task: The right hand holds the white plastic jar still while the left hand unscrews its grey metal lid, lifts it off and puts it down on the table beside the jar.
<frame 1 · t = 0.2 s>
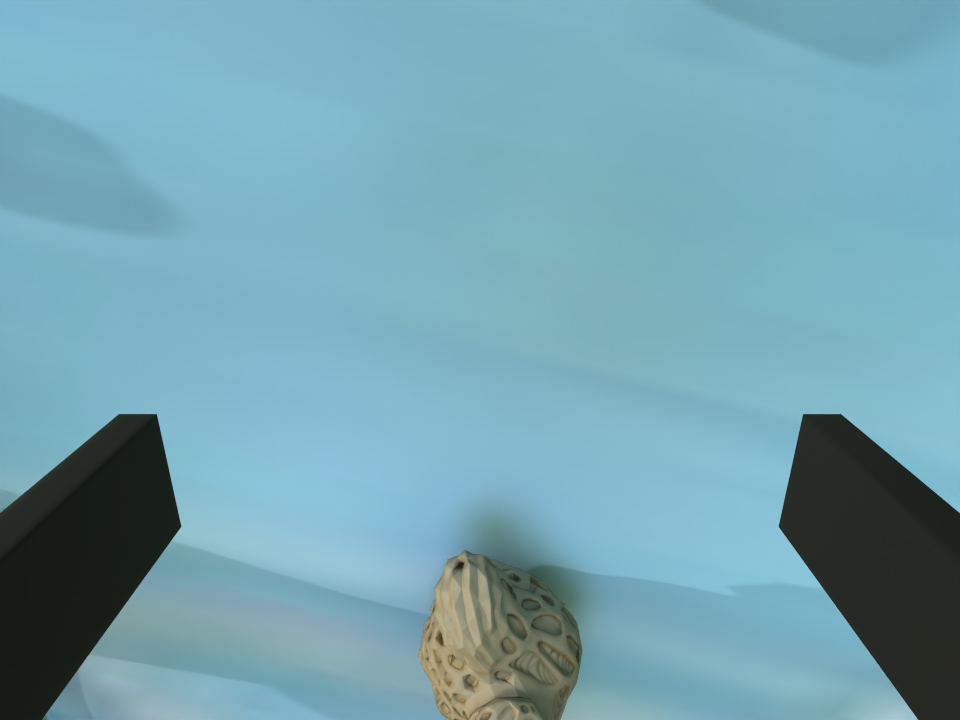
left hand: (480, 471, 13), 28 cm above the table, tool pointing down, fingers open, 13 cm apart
beige textured lump: (500, 601, 50), on the table
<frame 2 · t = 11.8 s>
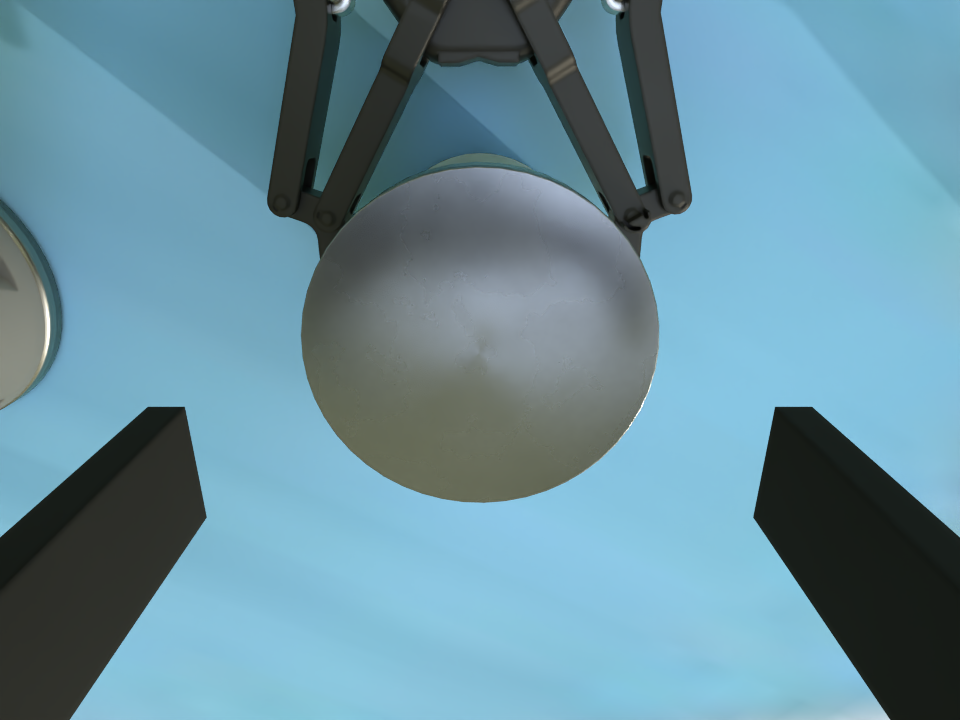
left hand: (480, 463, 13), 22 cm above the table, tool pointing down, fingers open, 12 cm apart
lid: (480, 348, 19), point 15 cm above the table, screwed on, not yet turned
jar: (480, 249, 34), on the table, touching right hand
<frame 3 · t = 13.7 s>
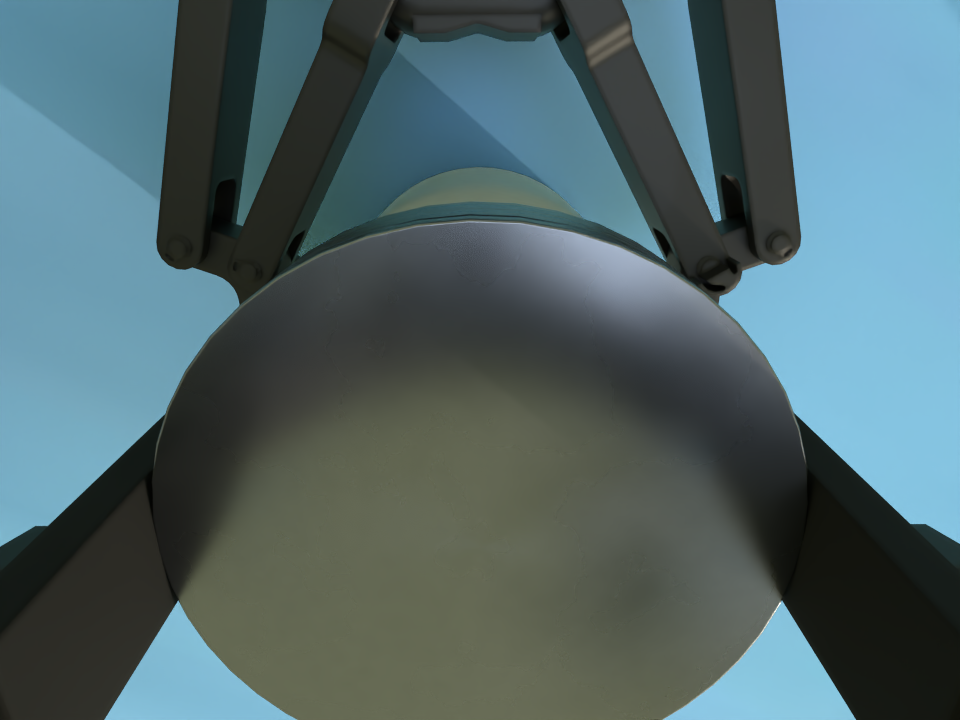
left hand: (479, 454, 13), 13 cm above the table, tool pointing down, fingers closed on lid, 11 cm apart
lid: (480, 533, 11), point 15 cm above the table, screwed on, not yet turned, touching left hand
jar: (479, 295, 25), on the table, touching right hand
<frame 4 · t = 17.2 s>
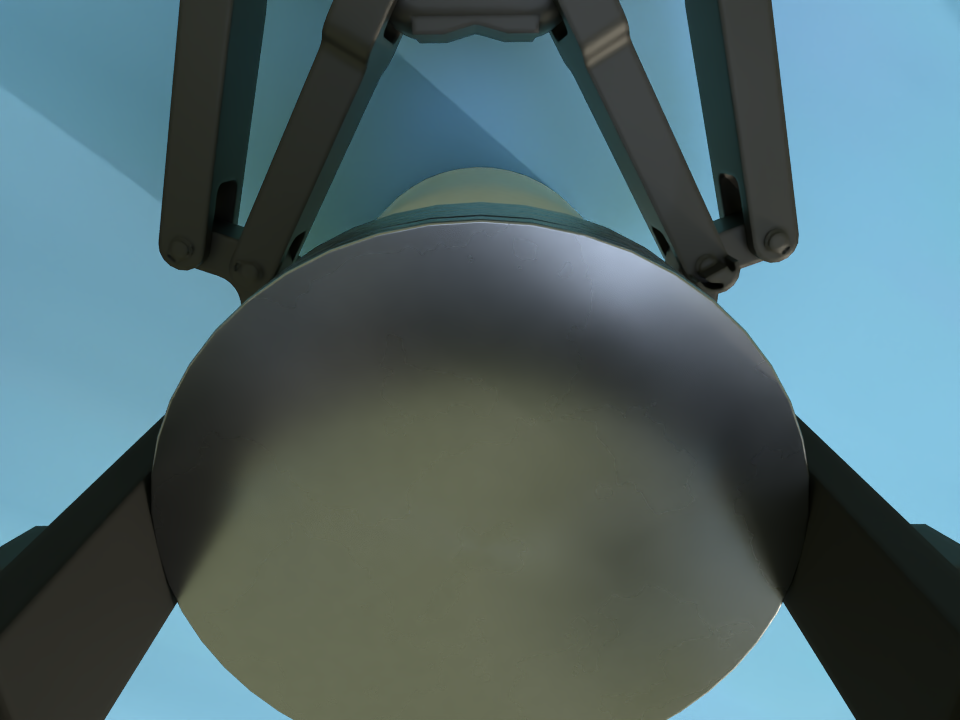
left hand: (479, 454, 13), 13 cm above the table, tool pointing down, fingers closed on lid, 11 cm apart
lid: (480, 535, 11), point 15 cm above the table, turned 126° so far, risen 0.2 cm, still on its thread, touching left hand
jar: (479, 294, 25), on the table, touching right hand
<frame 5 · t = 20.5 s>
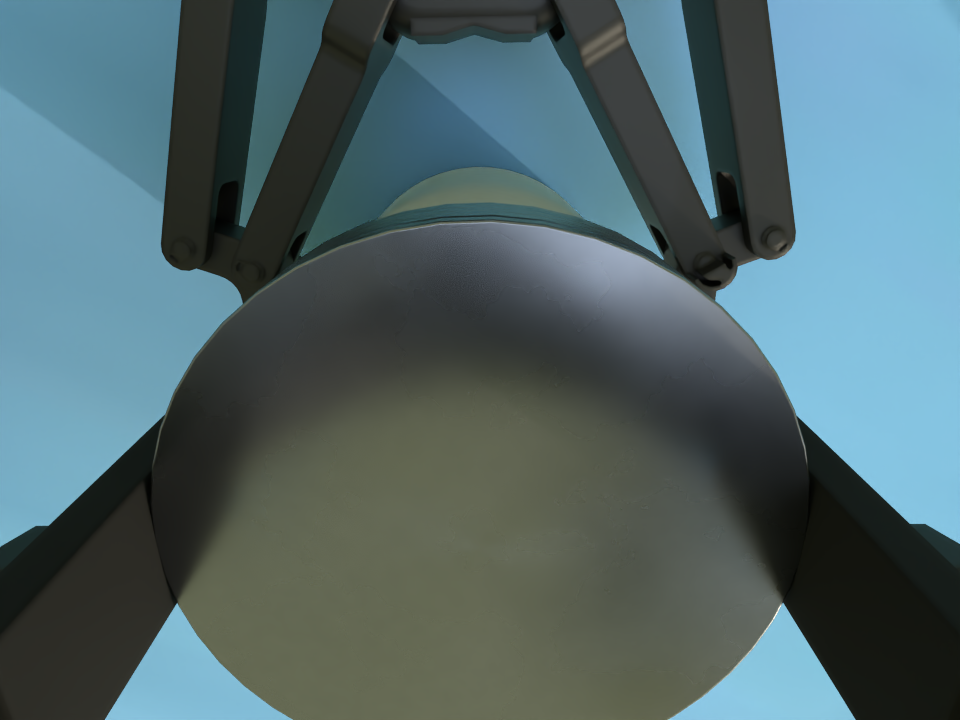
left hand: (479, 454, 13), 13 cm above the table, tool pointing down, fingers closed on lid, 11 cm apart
lid: (480, 535, 11), point 16 cm above the table, turned 251° so far, risen 0.3 cm, still on its thread, touching left hand
jar: (480, 293, 25), on the table, touching right hand
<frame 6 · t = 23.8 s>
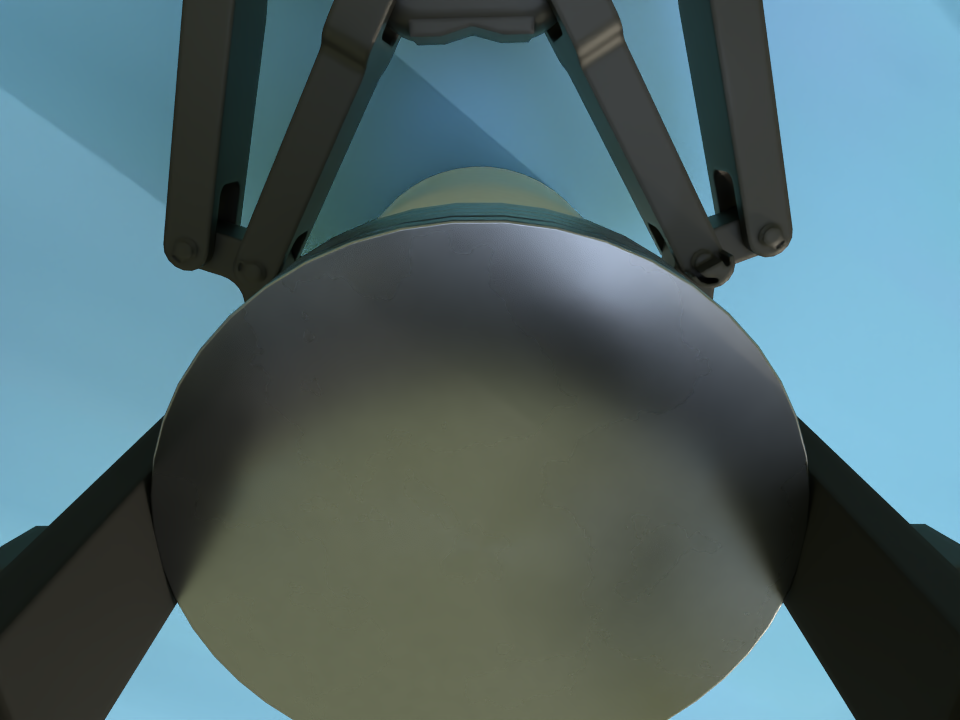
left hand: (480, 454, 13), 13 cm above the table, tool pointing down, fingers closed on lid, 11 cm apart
lid: (480, 535, 11), point 16 cm above the table, turned 377° so far, risen 0.5 cm, still on its thread, touching left hand
jar: (480, 292, 26), on the table, touching right hand
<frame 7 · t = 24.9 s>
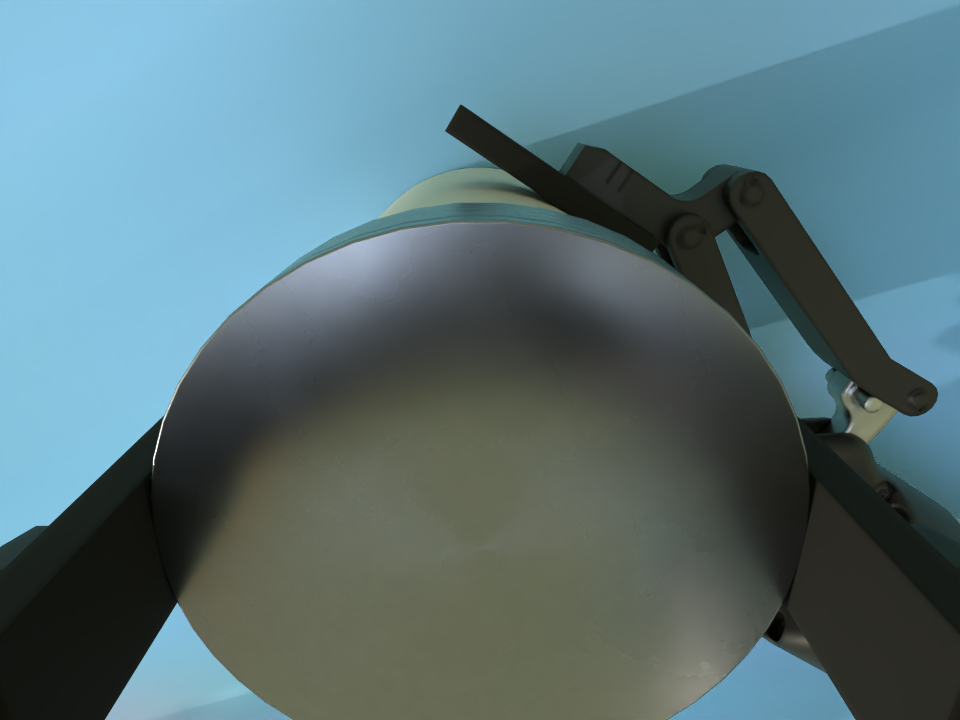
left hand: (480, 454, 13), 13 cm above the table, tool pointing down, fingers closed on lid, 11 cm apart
lid: (480, 535, 11), point 16 cm above the table, off its thread, touching left hand
jar: (479, 292, 26), on the table, touching right hand
when the left hand's fingers open (0 cm above the table, at t = 31.5 s): lid drops 1 cm, point 2 cm above the table.
when the right hand's fingers open (6 cm above the table, at t = 32.5 s): jar stays where it is, on the table.
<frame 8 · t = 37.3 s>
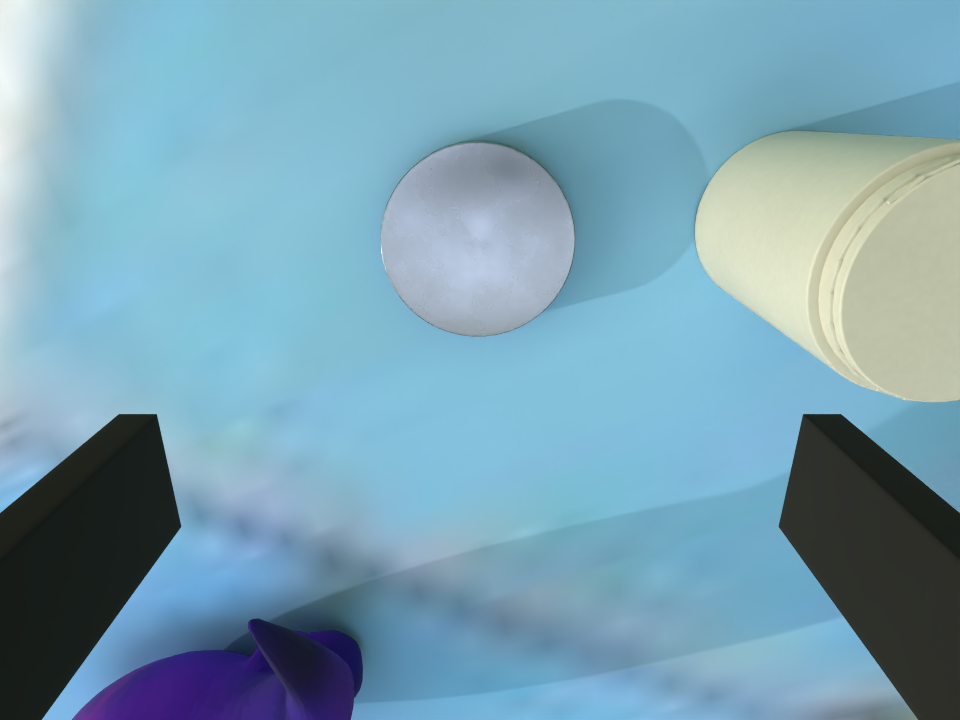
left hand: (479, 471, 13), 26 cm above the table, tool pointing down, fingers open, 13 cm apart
lid: (477, 243, 35), point 2 cm above the table, off its thread
toy: (257, 645, 49), on the table
jar: (779, 220, 36), on the table
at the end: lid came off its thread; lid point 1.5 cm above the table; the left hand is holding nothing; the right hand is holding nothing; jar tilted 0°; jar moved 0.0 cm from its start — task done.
